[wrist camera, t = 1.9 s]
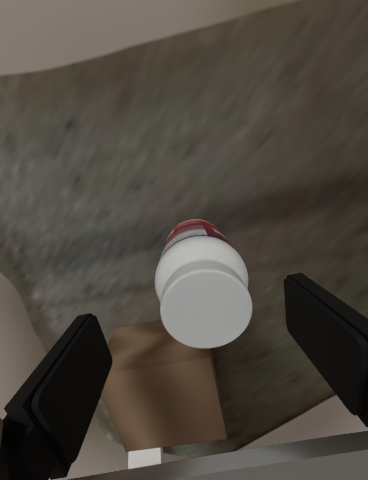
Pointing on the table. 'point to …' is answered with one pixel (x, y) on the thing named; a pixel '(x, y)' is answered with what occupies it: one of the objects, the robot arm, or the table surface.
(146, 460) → the headphone stand
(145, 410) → the walnut block
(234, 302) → the pill bottle
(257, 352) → the table surface
